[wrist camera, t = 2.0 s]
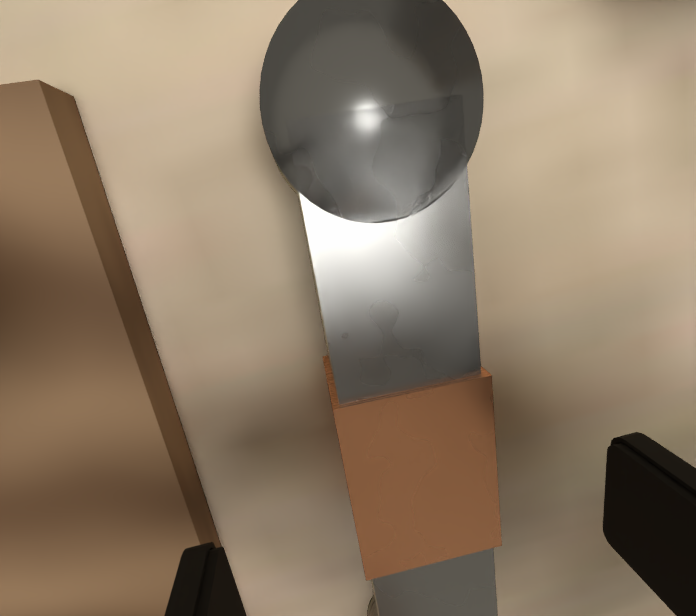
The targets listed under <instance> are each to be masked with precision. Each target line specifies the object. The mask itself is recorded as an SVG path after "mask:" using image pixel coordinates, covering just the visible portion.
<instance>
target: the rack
mask: <svg viewBox="0 0 696 616" xmlns="http://www.w3.org/2000/svg"><path fill="white" fill-rule="evenodd" d="M209 542H213V543H214V545H215V547H216V548H219V547H221V544H220V541H219V538H218V535H217V532H216V529H215V526H214V523H213V520H212V517H211V514H210V511H209V508H208V505H207V502H206V499H205V496H204V493H203V490H202V486H201V483H200V480H199V477H198V474H197V471H196V468H195V465H194V462H193V459H192V456H191V453H190V450H189V447H188V444H187V441H186V438H185V435H184V432H183V429H182V426H181V423H180V420H179V417H178V413H177V410H176V407H175V404H174V401H173V398H172V395H171V392H170V389H169V386H168V383H167V380H166V377H165V374H164V371H163V368H162V365H161V362H160V359H159V356H158V353H157V350H156V347H155V344H154V340H153V337H152V334H151V331H150V328H149V325H148V322H147V319H146V316H145V313H144V310H143V307H142V304H141V301H140V298H139V295H138V292H137V289H136V286H135V283H134V280H133V277H132V274H131V271H130V267H129V264H128V261H127V258H126V255H125V252H124V249H123V246H122V243H121V240H120V237H119V234H118V231H117V228H116V225H115V222H114V219H113V216H112V213H111V210H110V207H109V204H108V201H107V198H106V194H105V191H104V188H103V185H102V182H101V179H100V176H99V173H98V170H97V167H96V164H95V161H94V158H93V155H92V152H91V149H90V146H89V143H88V140H87V137H86V134H85V131H84V128H83V125H82V121H81V118H80V115H79V112H78V109H77V106H76V103H75V100H74V97H73V96H71V95H69V94H67V93H65V92H63V91H61V90H59V89H57V88H55V87H52V86H50V85H48V84H46V83H44V82H42V81H40V80H32V81H25V82H17V83H10V84H2V85H0V616H164V615H165V612H166V608H167V605H168V601H169V598H170V594H171V591H172V587H173V584H174V580H175V577H176V573H177V569H178V566H179V562H180V559H181V556H182V553H183V551H184V550H185V549H186V548H190V547H193V546H197V545H201V544H205V543H209Z"/></svg>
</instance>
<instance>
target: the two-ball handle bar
mask: <svg viewBox="0 0 696 616" xmlns="http://www.w3.org/2000/svg"><path fill="white" fill-rule="evenodd" d="M260 111H261V118H262V124H263V128H264V132H265V135H266V139H267V142H268V144H269V147H270V149H271V152H272V154H273V157H274V159H275V161H276V164H277V166H278V168H279V170H280V172H281V174H282V176H283V177H284V179H285V181H286V182H287V183H288V185H289V186H290V187H291V189H292V190H293V191H294V192H295V193H296V194H297V195H298V200H299V205H300V210H301V216H302V221H303V226H304V231H305V237H306V242H307V247H308V252H309V258H310V263H311V268H312V273H313V278H314V284H315V289H316V294H317V299H318V305H319V310H320V315H321V320H322V326H323V331H324V336H325V341H326V347H327V352H328V355H327V356H323V361H324V366H325V372H326V377H327V382H328V388H329V393H330V398H331V403H332V409H333V414H334V419H335V424H336V429H337V434H338V439H339V444H340V450H341V455H342V460H343V465H344V470H345V475H346V480H347V485H348V490H349V495H350V501H351V506H352V511H353V516H354V521H355V526H356V531H357V536H358V541H359V546H360V552H361V557H362V562H363V567H364V572H365V577H366V581H367V580H371V582H372V587H373V593H374V595H373V597H372V598H371V601H370V603H369V606H368V610H367V616H498V613H497V599H496V584H495V569H494V554H493V548H494V547H498V546H502V541H501V524H500V507H499V491H498V474H497V457H496V440H495V423H494V406H493V389H492V375H491V374H489V373H488V372H487V371H486V370H485V369H484V368H483V367H481V363H480V348H479V333H478V318H477V304H476V289H475V274H474V259H473V245H472V230H471V215H470V200H469V186H468V171H467V163H468V161H469V159H470V157H471V155H472V153H473V151H474V148H475V145H476V142H477V139H478V136H479V131H480V127H481V123H482V114H483V83H482V74H481V70H480V66H479V61H478V58H477V55H476V52H475V49H474V46H473V44H472V42H471V40H470V38H469V36H468V34H467V32H466V30H465V28H464V26H463V25H462V23H461V22H460V20H459V19H458V17H457V16H456V15H455V14H454V12H453V11H452V10H451V9H450V8H449V7H448V5H447V4H446V3H445V2H444V1H442V0H298V1H297V2H296V4H295V5H294V6H293V7H292V8H291V9H290V10H289V11H288V12H287V14H286V15H285V17H284V18H283V19H282V21H281V22H280V24H279V25H278V27H277V29H276V31H275V33H274V35H273V37H272V39H271V41H270V44H269V47H268V49H267V52H266V55H265V59H264V63H263V68H262V72H261V81H260Z"/></svg>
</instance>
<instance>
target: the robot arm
mask: <svg viewBox="0 0 696 616" xmlns="http://www.w3.org/2000/svg"><path fill="white" fill-rule="evenodd" d="M603 532H604V535H605V537H606V539H607V541H608V543H609V544H610V545H611V546H612V547H613V549H614V550H615V551H616V552H617V553H618V554H619V555H620V556H621V557H622V558H623V559H624V560H625V561H626V562H627V563H628V565H629V566H630V567H631V568H632V569H633V570H634V571H635V572H636V573H637V574H638V575H639V576H640V577H641V578H642V579H643V581H644V582H645V583H646V584H647V585H648V586H649V587H650V588H651V589H652V590H653V591H654V592H655V593H656V594H657V596H658V597H659V598H660V599H661V600H662V601H663V602H664V603H665V604H666V605H667V606H668V607H669V608H670V609H671V610H672V612H673V613H674V614H675V615H676V616H696V468H694V467H693V466H691V465H690V464H688V463H687V462H685V461H684V460H682V459H681V458H679V457H678V456H676V455H675V454H673V453H672V452H670V451H669V450H667V449H666V448H664V447H663V446H661V445H660V444H658V443H657V442H655V441H654V440H652V439H650V438H649V437H647V436H646V435H644V434H642V433H638V432H635V433H631V434H627V435H624V436H620V437H616V438H613V440H612V441H611V446H609V447H608V449H607V463H606V481H605V499H604V517H603ZM164 616H246V613H245V610H244V607H243V604H242V601H241V598H240V595H239V592H238V589H237V586H236V583H235V580H234V577H233V574H232V571H231V568H230V565H229V562H228V559H227V556H226V554H225V551H224V548H223V547H219V548H216V547H215V545H214V543H213V542H209V543H205V544H201V545H197V546H193V547H190V548H186V549H185V550H184V551H183V553H182V556H181V559H180V562H179V566H178V569H177V573H176V577H175V580H174V584H173V587H172V591H171V594H170V598H169V601H168V605H167V608H166V612H165V615H164Z"/></svg>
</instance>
